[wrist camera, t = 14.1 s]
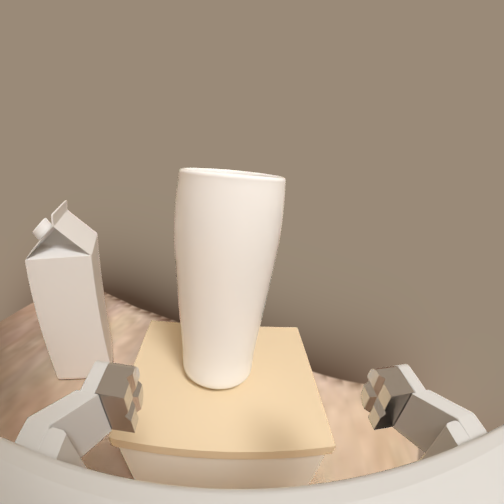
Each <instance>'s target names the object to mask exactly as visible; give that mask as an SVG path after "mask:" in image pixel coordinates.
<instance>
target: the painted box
mask: <svg viewBox="0 0 504 504" xmlns="http://www.w3.org/2000/svg"><path fill="white" fill-rule="evenodd" d="M134 366H136V367H138V368H139V372H140V377H139V380H138V381H139V382H140V383H141V384H142V387H143V404H142V408H141V410H139V411H138V412H137V415H138V418H139V419H138V423H137V426H136V430H135V433H132V432H125V431H119V430H113V429H111V430H112V431H111V432H110V435H109V440H110V442H111V444H112V446H116V447H119V448H120V451H121V453H122V455H123V457H124V459H125V461H126V464H127V466H128V468H129V470H130V472H131V474H132V476H133V478H134V480H140V481H146V482H152V483H159V484H167V485H176V486H185V487H198V488H216V489H261V488H280V487H292V486H302V485H309V484H310V482H311V480H312V478H313V477H314V475H315V473H316V471H317V469H318V467H319V465H320V463H321V461H322V459H323V458H324V456H325V454H332V453H333V451H334V449H335V447H336V445H335V442H334V438H333V435H332V432H331V429H330V426H329V423H328V419H327V416H326V413H325V410H324V407H323V404H322V401H321V398H320V395H319V392H318V388H317V385H316V382H315V379H314V376H313V373H312V370H311V367H310V364H309V361H308V358H307V355H306V352H305V349H304V346H303V343H302V340H301V337H300V334H299V331H298V328H297V327H260V329H259V333H258V337H257V341H256V346H255V350H254V355H253V362H252V369H251V372H250V375H249V376H248V378H247V379H246V380H245V381H244V382H243V383H241V384H240V385H238V386H235V387H232V388H228V389H211V388H206V387H203V386H201V385H199V384H197V383H195V382H194V381H192V380H191V379H190V378H189V377H188V375H187V374H186V372H185V370H184V366H183V346H182V335H181V325H180V323H176V322H163V321H152V320H151V322H150V325H149V327H148V330H147V332H146V335H145V337H144V340H143V342H142V345H141V347H140V350H139V353H138V355H137V358H136V360H135V363H134Z"/></svg>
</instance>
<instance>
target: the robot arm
mask: <svg viewBox="0 0 504 504" xmlns="http://www.w3.org/2000/svg"><path fill="white" fill-rule="evenodd" d="M139 377H140V372H139V368H138V367H136V366H129V365H123V364H117V363H111V362H110V363H109V362H104V361H99V360H97V361H96V362H95V363H94V364H93V366H92V368H91V370H90V372H89V374H88V376H87V378H86V380H85V382H84V384H83V386H82V388H81V390H80V391H79V390H75V391H74V392H72V393H70V394H68V395H67V396H65V397H63V398H62V399H60V400H58V401H56V402H55V403H53V404H51V405H49V406H47V407H46V408H44V409H42V410H40V411H39V412H37V413H35V414H33V415H31V416H30V417H28V418H27V420H26V422H25V424H24V426H23V427H22V429H21V431H20V433H19V435H18V437H17V439H16V441H15V443H14V442H12V441H10V440H8V439H5V438H3V437H1V436H0V504H504V424H503V425H502V426H500V427H498V428H496V429H494V430H492V431H490V432H488V433H487V431H486V430H485V429H484V427H483V426H482V424H481V423H480V421H479V420H478V419H477V417H476V416H475V415H474V413H473V412H470V411H469V410H466V409H465V408H463V407H461V406H459V405H457V404H455V403H453V402H451V401H449V400H447V399H446V398H444V397H442V396H440V395H438V394H436V393H434V392H432V391H430V390H425V388H424V387H423V385H422V384H421V382H420V381H419V379H418V378H417V376H416V375H415V374H414V372H413V371H412V369H411V368H410V366H409V365H407V364H403V365H397V366H390V367H382V368H374V369H371V371H370V372H369V374H368V379H369V381H368V382H367V383H366V384H365V385H364V386H363V389H362V392H361V401H362V405H363V407H364V409H365V410H367V411H368V412H370V413H369V416H368V418H369V420H370V423H371V425H372V427H373V429H374V430H376V429H382V428H388V427H393V426H394V427H393V428H394V429H396V430H397V431H398V432H399V433H401V434H402V435H403V436H404V437H406V438H407V439H408V440H409V441H411V442H412V443H413V444H414V445H416V446H417V447H418V448H420V449H421V450H422V451H424V452H425V454H424V455H423V456H422V457H421V459H420V460H419V461H416V462H413V463H410V464H406V465H403V466H399V467H396V468H392V469H389V470H385V471H381V472H377V473H373V474H368V475H364V476H359V477H354V478H349V479H344V480H338V481H332V482H326V483H319V484H311V485H302V486H292V487H280V488H261V489H216V488H198V487H185V486H176V485H167V484H159V483H152V482H146V481H140V480H134V479H129V478H124V477H119V476H115V475H110V474H106V473H102V472H98V471H94V470H90V469H87V467H86V466H85V464H84V463H83V461H82V460H81V457H82V456H84V455H85V454H86V453H87V452H88V451H89V450H90V449H92V448H93V447H94V446H95V445H96V444H97V443H98V442H100V441H101V440H102V439H103V438H104V437H105V436H106V435H107V434H108V433H110V432H111V431H112V430H111V429H113V430H119V431H125V432H132V433H135V430H136V426H137V423H138V419H139V418H138V415H137V412H138V411H139V410H141V408H142V404H143V387H142V384H141V383H140V382H139V381H138V380H139Z"/></svg>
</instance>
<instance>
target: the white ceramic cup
mask: <svg viewBox="0 0 504 504" xmlns="http://www.w3.org/2000/svg"><path fill="white" fill-rule="evenodd" d="M285 184H286V179H285V178H284V177H280V176H275V175H269V174H262V173H254V172H245V171H236V170H224V169H209V168H181V169H180V170H179V177H178V185H177V194H176V204H175V222H174V243H175V263H176V277H177V289H178V302H179V314H180V325H181V335H182V346H183V366H184V370H185V372H186V374H187V375H188V377H189V378H190V379H191V380H192V381H194V382H195V383H197V384H199V385H201V386H203V387H206V388H211V389H228V388H232V387H235V386H238V385H240V384H241V383H243V382H244V381H245V380H246V379H247V378H248V376H249V375H250V372H251V369H252V362H253V355H254V350H255V346H256V341H257V337H258V333H259V329H260V324H261V320H262V316H263V312H264V307H265V303H266V299H267V294H268V290H269V286H270V282H271V278H272V273H273V268H274V264H275V260H276V255H277V250H278V246H279V239H280V234H281V227H282V220H283V210H284V199H285Z"/></svg>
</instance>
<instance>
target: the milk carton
mask: <svg viewBox="0 0 504 504" xmlns="http://www.w3.org/2000/svg"><path fill="white" fill-rule="evenodd" d="M51 220H52V225H51V223H50V222H49V221H48V220H47V219H46V218H44V219H43V220H42V221H41V222H40V224H39V225H38V226H37V227H36V228H35V230H34V231H33V232H32V233H33V234H34V236H36V238H37V239H39V242H38V243H37V244H36V245H35V247H34V248H33V249H32V251H31V252H30V253H29V255H28V256H27V258H26V259H25V264H26V270H27V275H28V280H29V285H30V289H31V293H32V298H33V302H34V306H35V310H36V313H37V317H38V321H39V324H40V328H41V331H42V334H43V338H44V341H45V344H46V347H47V350H48V353H49V356H50V359H51V361H52V364H53V367H54V370H55V372H56V375H57V377H58V379H84V378H87V376H88V374H89V372H90V370H91V368H92V366H93V364H94V363H95V362H96V361H97V360H99V361H104V362H109V363H110V362H111V363H113V350H112V339H111V334H110V328H109V323H108V317H107V311H106V305H105V298H104V291H103V284H102V276H101V267H100V258H99V247H98V235H97V233H96V232H95V231H94V230H92V229H91V228H90V227H88V226H87V225H86V224H85V223H83V222H82V221H81V220H80V219H78V218H77V217H76V216H74V215H73V214H72V213H71V212H70V211H68V210H67V200H65V201H64V202H63V203H62V204H61V205H60V206H59V207H58V208H57V209H56V210H55V211H54V212H53V213H52V215H51Z"/></svg>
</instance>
